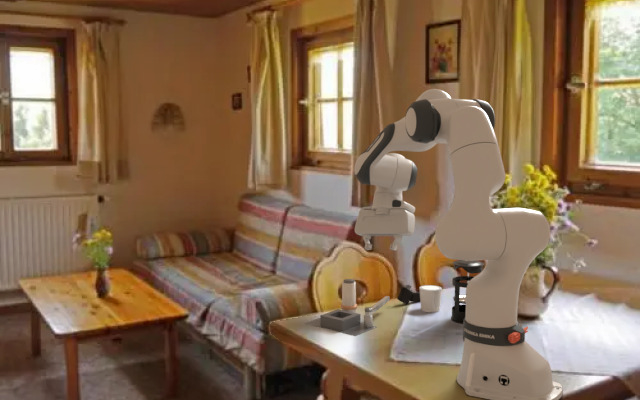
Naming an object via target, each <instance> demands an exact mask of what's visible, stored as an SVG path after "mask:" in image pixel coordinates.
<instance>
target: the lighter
mask: <svg viewBox="0 0 640 400" xmlns="http://www.w3.org/2000/svg"><path fill="white" fill-rule="evenodd" d="M411 288H412V285H410V284H406V285H405V286H403V287H401V289H400V291H399V294H398V296H397V298H396V299H397V300H398V301H399V302H401V303H403V304H404V305H409V303H410V302H412V303H416V304H417V303H421V302H420V292H413V290H412V289H411Z"/></svg>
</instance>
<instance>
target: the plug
mask: <svg viewBox="0 0 640 400" xmlns="http://www.w3.org/2000/svg"><path fill="white" fill-rule="evenodd" d="M356 284H357V282H356V281H355V279H353V278H345V279H343V280H342V282H341V292H342V293H341V295H342V297H341V303H340V310H344V311H349V312H353V313H357V309H358V303H357V290H356V289H357V285H356Z"/></svg>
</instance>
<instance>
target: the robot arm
mask: <svg viewBox="0 0 640 400" xmlns="http://www.w3.org/2000/svg"><path fill="white" fill-rule="evenodd" d="M495 127H496V114H495V111H494V109H493V107H492V106H491V105H490V103H489V102H487V101H485V100H481V99H476V98H472V99H465V98H452V97H451V96H450V94H448V93H447V92H446V91H444V90H442V89H438V88H430V89H427V90H425V91H424V92H422V93H421V94H420V95H419V96H418V97H417V98H416V100H415V101H413V102H411V104H409V106H408V108H407V110H406V113H405V116H404V117H402V118H401V119H399V120H397V121H395V122H392V123H390V124H389V123H388V124H387V125H386V126H385V127H384V128H383V129H381V131H380V132H379V134H378V135H377V136H376V137H375V138H374V140H373V141H372V142H371V144H369V146H368V147H367V148H366V149H364V151H362V152H361V153H360V154H359V156H358V157H357V158H356V160H355V164H354V171H353V175H354V176H355V178H356V180H357V181H358V182H359V183H360V184H361V185H368V186H375V187H376V189H375V191H374V194H373V200H372V205H371V206H363V207H362V208H361V209H360V210H359V211H358V216H357V218H356V222H355V225H354V233H355V234H356V235H357V236H360V237H362V239H363V241H364V250H365V251H371V250H373V244H372V243H371V242H370V240H371V239H372V237H393V238H394V240H393V242H392V243H391V242H390V245H389V246H390V247H389V249H390V250H391V251H397V250H398V246H399V244H400V243H401V241H402V240H403V237H411V236H412V235H413V234H414V233H415V226H416V225H415V224H416V216H415V212H416V207H415V206H414V205H412V204H410V203H409V202H406V201H404V200H403V192H406V191H409V190H410V189H412V188H414V187H415V186H416V182H417V176H418V168H417V166H416V163H415V162H414V161H413V160H411V159H408V158H406V157H405V156H404V155H402V154H400V153H397V152H400V151H401V152H416V153H417V152H419V153H420V152H426V151H429V150H430V149H432V148H434V147H435V146H436V145H437V144H443V145H444V144H447V147H448V153H449V158H450V159H449V160H450V164H451V169H452V175H453V180H454V182H453V183H454V195H453V201H452V203H451V204H450V207H449V208H448V211H447V212H446V213H445V214H443V216H442V217H441V218H440V219H439V221H438V222H437V225H436V227H435V228H436V229H435V234H434V237H435V239H434V240H435V243H436V245H437V248H438V250H439V251H440V253H441V254H442V255H443V256H444V257H445V258H447V259H450V260H454V261H458V260H463V261H487V262H486V264H485V265H484V266H485V267H483V271H482V272H480V273H477V275H475V276H473V277H474V278H472V279H471V280H470V281H469V283H468V285H467V288H466V289H465V295H466V304H465V305H466V314H465V318H464V321H463V324H462V339H463V349H462V358H461V363H460V367H459V371H458V374H457V377H456V382H457V384H458V385H459V386H461V388H463V389H464V392H465V394H466V395H468V396H470V397H475V398H481V399H486V400H560V399H561V398H562V396H563V395H564V387H563V386H562V384H561V383H559V382H556V381H554V380H553V374H552V367H551V365H550V363H549V361H548V360H547V359H546V358H545V357H544V356H542V354H540V353H539V352H538V351H537V350H536V349H535V348H534V347H533V346H531V345H530V344H529V343H528V341H526V338H525V337H526V334H527V333H528V332H529V330H528V329H529V327H528V326H525V327H524V328H523V327H522V326H521V324H520V322H519V321H518V305H519V296H520V295H519V294H520V289H521V284H522V281H523V279H524V275H525V274H526V272H527V270H528V269H529V267H530V266H531V264H532V263H533V261H534V260H535V259H536V258H537V256H538V255H541V253H542V252H543V251H544V250H545V249H546V248H547V246H548V245H549V242H550V237H551V228H550V224H549V221H548V220H547V218H546V216H545V215H544V214H543V213H542V212H541V211H539V210H536V209H535V210H534V209H530V208H526V207H525V208H523V207H504V208H502V207H501V208H492V207H491V204H490V203H491V202H490V197H491V196H493V195H494V194H495V193H496V192H498V191H499V190H500V189H501V188H502V187H503V185H504V183H505V182H506V181H505V180H506V171H505V167H504V162H503V158H502V155H501V154H502V153H501V151H500V146H499V143H498V139H497V136H496V133H495V131H494V130H495Z"/></svg>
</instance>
